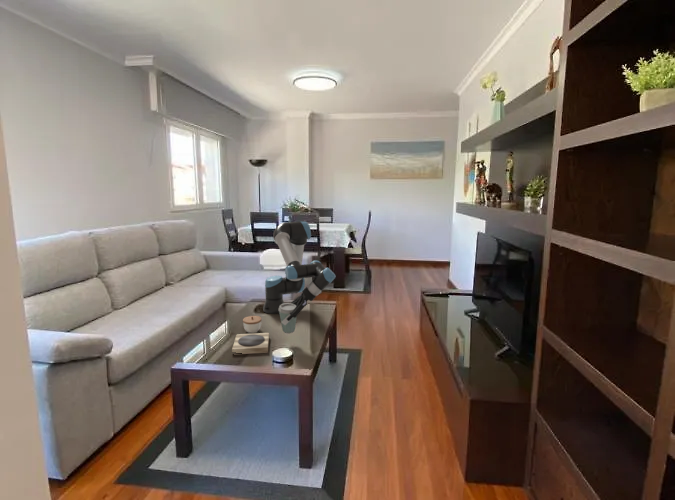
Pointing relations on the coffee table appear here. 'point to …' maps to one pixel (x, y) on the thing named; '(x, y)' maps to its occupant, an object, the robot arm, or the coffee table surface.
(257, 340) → the birch riser
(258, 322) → the lidded jar
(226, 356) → the coffee table surface
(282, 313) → the disposable coffee cup
